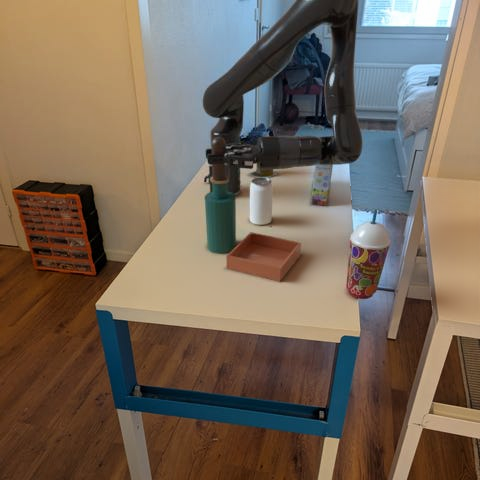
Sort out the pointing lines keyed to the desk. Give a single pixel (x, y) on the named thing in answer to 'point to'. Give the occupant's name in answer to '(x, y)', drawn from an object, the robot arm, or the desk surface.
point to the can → (261, 201)
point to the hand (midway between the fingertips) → (207, 156)
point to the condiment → (262, 173)
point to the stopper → (219, 169)
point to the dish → (264, 256)
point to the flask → (220, 219)
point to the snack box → (321, 184)
